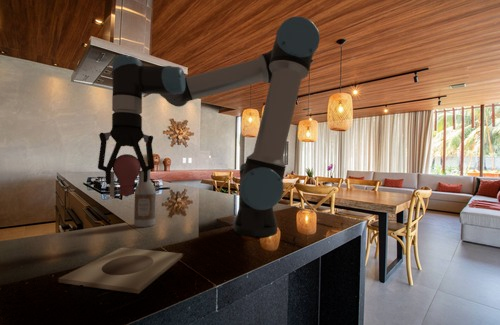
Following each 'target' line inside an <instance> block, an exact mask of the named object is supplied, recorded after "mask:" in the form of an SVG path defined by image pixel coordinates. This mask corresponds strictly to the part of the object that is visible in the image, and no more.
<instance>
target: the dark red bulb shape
mask: <svg viewBox="0 0 500 325" xmlns="http://www.w3.org/2000/svg"><path fill="white" fill-rule="evenodd" d="M141 170H142V169H141V165H140V162H139V160H138V158H137V156H136V155H132V154H127V153H125V154H121V155H119V156H117V157H116V160H115V162H114V164H113V167H112V172H114V176H115V177H116V178H117V180H118V185H119V187H118V188H119V195H120V196H124V197H126V198H127V197H130V196H132V195H134V193H135V191H134V187H135V185H136V179H137V178H138V177H139V172H140V171H141Z"/></svg>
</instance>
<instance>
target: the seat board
mask: <svg viewBox="0 0 500 325" xmlns="http://www.w3.org/2000/svg"><path fill="white" fill-rule="evenodd" d="M183 256H184V254H183V253H181V252H179V253H178V252H169V251H162V250H161V251H160V250H150V249H141V248H131V247H120V248H118V249H116V250H114V251H111V252H110V253H108V254H106V255H104V256H102V257H100V258H97V259H95V260H94V261H92V262H89V263H87V264H85V265H83V266H81V267H79V268H77V269H75V270H72V271H70V272H69V273H66V274H64V275H62V276H60V277H58V283H60V284H66V285H68V284H69V285H74V286H80V285H83V286H82V287H88V288H95V289H96V288H97V289H103V290H110V291H116V292H124V293H133V294H140V293H141V292H142V291H144V289H146V288H147V287H148V286H149V285H151V284H152V283H154V281H156V280H157V279H158V278H159V277H160V276H162V275H163V274H164V273H165V272H166V271H168V270H169V269H170V268H171V267H173V266H174V265H175V264H176V263H178V261H180V260H181V259H182V258H183Z"/></svg>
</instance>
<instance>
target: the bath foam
mask: <svg viewBox="0 0 500 325" xmlns="http://www.w3.org/2000/svg"><path fill="white" fill-rule="evenodd" d="M156 194H157V193H156V187H155V185H154V184H153V182H152V180H151V170H148V172H147V182H144V194H139V183H137V185H136V187H135V191H134V212H133V213H134V215H133V216H134V219H133V220H134V223H133V224H134V226H135V227H137V228H147V227H148V226H149V227H153V226H154V225H155V224H156V206H157V205H156V203H157V202H156V198H157V195H156Z"/></svg>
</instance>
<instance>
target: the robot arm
mask: <svg viewBox="0 0 500 325" xmlns="http://www.w3.org/2000/svg"><path fill="white" fill-rule="evenodd" d="M320 38H321V36H320V31H319V29H318V27H317V26H316V24H315V23H314V22H313V21H311V20H310V19H309V18H306V17H303V16H298V15H297V16H292V17H289V18H287V19H285V20H284V21H283V22H282V23H281V24H280V26H279V27H278V29H277V30H276V34H275V40H274V43H273V47H272V48H271V50H270V51H268V52H265V53H261V54H259V56H258V58H255V59H251V60H247V61H244V62H239V63H236V64H232V65H228V66H225V67H222V68H218V69H217V68H216V69H213V70H210V71H206V72H205V71H204V72H202V73H199V74H195V75H190V76H186V75H185V71H184V70H183V68H182V67H179V66H172V65H165V66H164V65H143V63H142V61H141V60H140V59H138V58H137V57H135V56H132V55H130V56H129V55H125V54H122V55H121V54H120V55H116V56H114V58H113V60H112V70H111V75H112V79H111V80H112V81H111V82H112V96H111V97H112V98H111V99H112V102H111V103H112V105H111V108H112V110H111V111H112V112H113V113H112V114H111V126H112V128H111V130H110V131H109V132H99V134H98V136H99V140H100V147H99V153H98V154H99V155H98V163H97V168H98V170H100V171H104V173H105V181H104V182H105V184H106V185H108V184H109V196H110V197H114V196H115V173H114V171H112V170H113V164H114V162H115V160H116V158H117V157H118V154H119V152H120V150H121V148H122V147H132V148H133V151H134V152H135V157H136V158H137V159H138V160H139V162H140V165H141V169H140V172H139V174H138V184H139V194H144V182H147V172H148V170H150V171H151V170H153V169H154V168H155V162H154V153H153V140H154V136H153V135H148V134H144V132H143V128H142V127H143V117H142V115H141V114H143V94H154V95H156V94H157V95H160V96H161V97H162V98H163V99H165V101H166V102H167V103H168V104H170V105H172V106H174V107H177V108H178V107H184V106H185V105H186V104H187V103H188V102H190V101H194V100H197V99H202V98H205V97H209V96H212V95H217V94H221V93H224V92H229V91H231V90H235V89H239V88H243V87H247V86H250V85H255V84H258V83H262V82H263V83H265V84H269V87H268V90H267V95H266V98H265V99H266V100H265V103H264V107H263V111H262V117H261V119H260V122H259V123H260V125H259V128H258V131H257V132H258V133H257V136H256V140H255V144H254V148H253V152H252V153H251V154H249V155H248V156H246V159H245V162H244V163H242V164H241V165H240V167H239V168H240V169H239V200H238V201H239V205H238V206H239V207H238V211H237V213H236V217H235V219H234V222H233V231H234V233H236V234H238V235H242V236H245V237H246V236H247V237H269V236H273V235H275V234H277V232H278V221H277V219H276V214H275V211H274V208H273V207H275V206H276V205H277V204H278V203H279V202H280V201H281V199H282V197H283V194H284V175H285V172H286V167H287V166H286V164H285V162H284V160H283V159H284V158H283V157H284V154H285V149H286V145H287V141H288V137H289V132H290V128H291V124H292V120H293V116H294V112H295V107H296V102H297V99H298V95H299V91H300V87H301V82H302V80H303V79H305V78H307V77H308V76H309V72H310V67H311V63H312V60H313V56H314V54H315V53H316V51H317V50H318V48H319V44H320V40H321V39H320ZM110 137H111V138H112V139H113V140H114V142H115V145H114V148H113V150H112V152H111V155H110V158H109V160H108V162H107V164H106V166H105V158H106V151H107V150H106V149H107V142H108V141H109V140H110ZM142 139H143V141H144V143H145V151H146V158H147V164H146V161H145V158H144V155H143V153H142V150H141V146H140V144H139V143H140V142H141V140H142Z"/></svg>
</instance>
